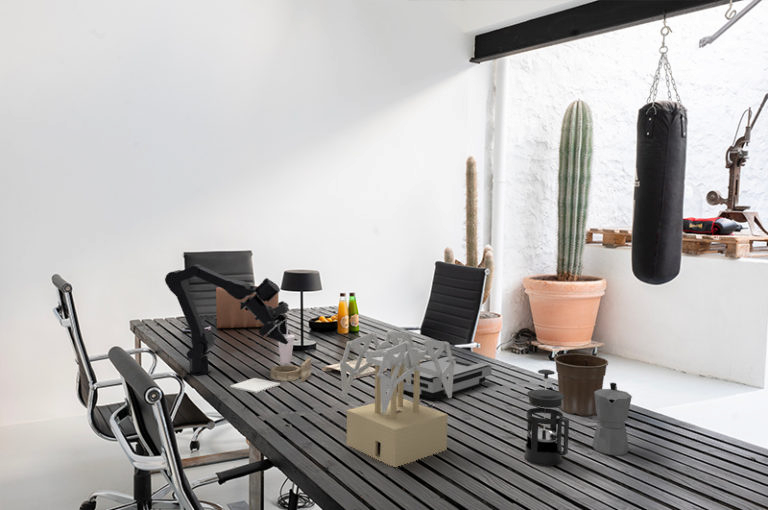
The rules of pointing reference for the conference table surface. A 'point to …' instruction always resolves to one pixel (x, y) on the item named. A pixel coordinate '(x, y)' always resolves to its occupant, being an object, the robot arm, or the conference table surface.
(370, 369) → the newspaper
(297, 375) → the segmented octagon frame
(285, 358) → the smoothie
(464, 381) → the game console
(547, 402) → the french press
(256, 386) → the coaster
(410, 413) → the kinetic sculpture
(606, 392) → the coffeepot
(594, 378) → the plant pot
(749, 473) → the conference table surface
